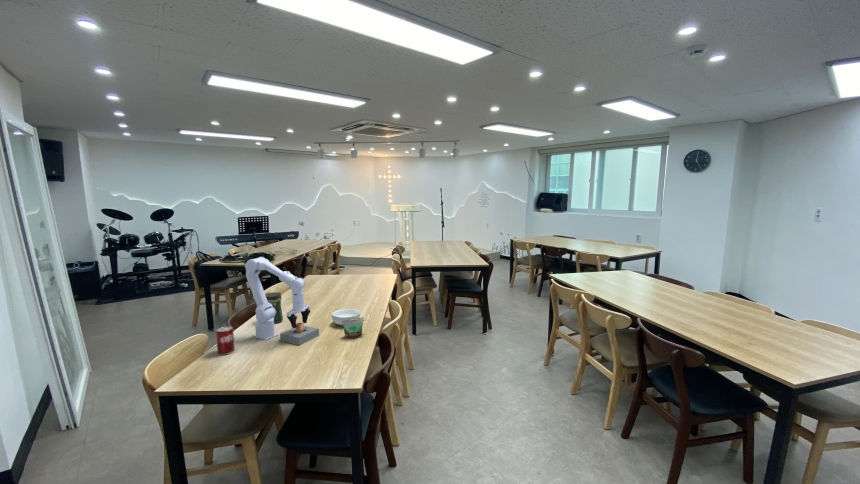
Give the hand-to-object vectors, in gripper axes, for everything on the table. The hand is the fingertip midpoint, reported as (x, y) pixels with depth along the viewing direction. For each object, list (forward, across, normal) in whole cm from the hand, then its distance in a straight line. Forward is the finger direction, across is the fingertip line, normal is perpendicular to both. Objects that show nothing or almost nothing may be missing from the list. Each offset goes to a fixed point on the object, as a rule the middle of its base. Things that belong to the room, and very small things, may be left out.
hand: (299, 325), depth 178 cm
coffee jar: (+8, +12, +34) cm, 37 cm away
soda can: (+8, -28, +20) cm, 35 cm away
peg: (+7, 0, 0) cm, 7 cm away
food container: (+7, +14, -26) cm, 31 cm away
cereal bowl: (+7, +28, -9) cm, 30 cm away
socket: (+7, 0, 0) cm, 7 cm away
